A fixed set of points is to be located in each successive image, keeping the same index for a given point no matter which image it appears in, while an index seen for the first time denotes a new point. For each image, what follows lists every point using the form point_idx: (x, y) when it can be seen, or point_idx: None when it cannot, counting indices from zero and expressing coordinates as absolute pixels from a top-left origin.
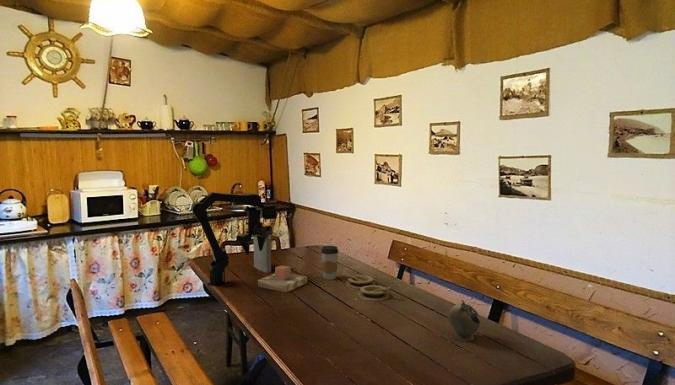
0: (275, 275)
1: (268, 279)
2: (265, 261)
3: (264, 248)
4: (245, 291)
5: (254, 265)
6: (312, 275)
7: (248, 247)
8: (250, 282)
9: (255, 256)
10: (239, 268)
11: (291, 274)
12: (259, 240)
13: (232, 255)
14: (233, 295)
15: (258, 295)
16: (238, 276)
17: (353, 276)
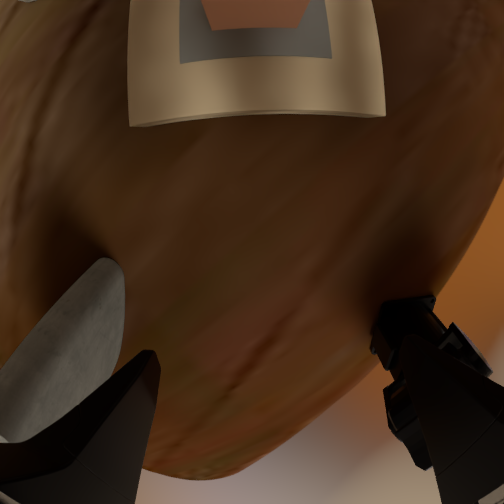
0: (300, 17)
1: (336, 59)
2: (96, 312)
3: (56, 384)
4: (447, 134)
5: (113, 369)
6: (37, 45)
7: (484, 385)
8: (328, 209)
9: None
10: (175, 395)
11: (142, 17)
12: (118, 490)
13: None
14: (491, 153)
15: (449, 50)
16: (270, 335)
17: None
